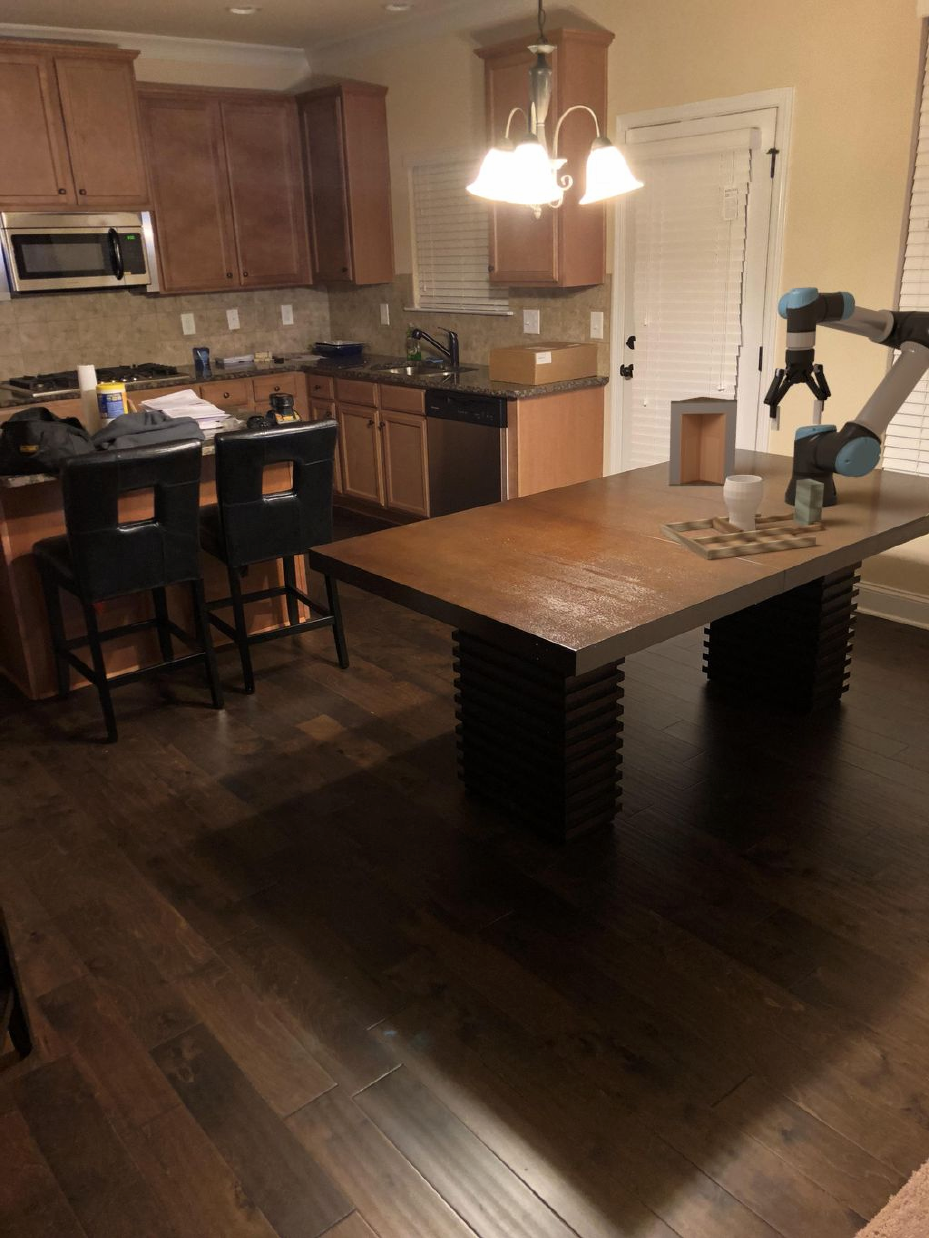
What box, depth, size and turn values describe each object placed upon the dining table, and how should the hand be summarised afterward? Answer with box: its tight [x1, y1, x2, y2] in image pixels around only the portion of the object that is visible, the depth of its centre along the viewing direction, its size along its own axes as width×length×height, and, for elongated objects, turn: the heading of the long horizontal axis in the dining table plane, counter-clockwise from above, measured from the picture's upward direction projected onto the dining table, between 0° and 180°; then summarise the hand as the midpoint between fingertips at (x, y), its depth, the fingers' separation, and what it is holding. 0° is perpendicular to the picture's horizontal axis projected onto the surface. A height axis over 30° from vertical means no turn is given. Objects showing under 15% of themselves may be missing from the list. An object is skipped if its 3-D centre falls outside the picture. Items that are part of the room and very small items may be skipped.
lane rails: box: [659, 512, 817, 561], centre depth 264 cm, size 31×28×2 cm
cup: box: [722, 474, 765, 532], centre depth 268 cm, size 11×11×15 cm
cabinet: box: [668, 396, 738, 487], centre depth 324 cm, size 21×10×28 cm, turn 77°
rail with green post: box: [711, 479, 826, 535], centre depth 270 cm, size 27×15×12 cm, turn 104°
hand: (796, 427), depth 271 cm, fingers open, 13 cm apart
